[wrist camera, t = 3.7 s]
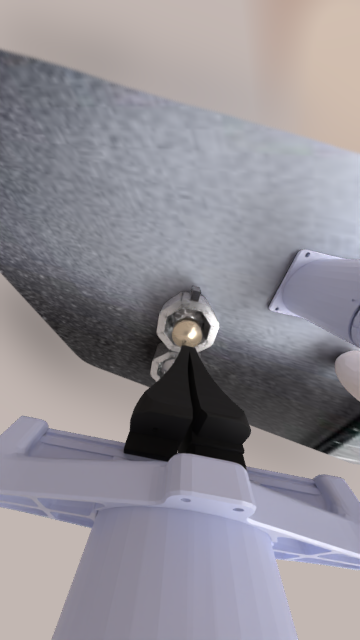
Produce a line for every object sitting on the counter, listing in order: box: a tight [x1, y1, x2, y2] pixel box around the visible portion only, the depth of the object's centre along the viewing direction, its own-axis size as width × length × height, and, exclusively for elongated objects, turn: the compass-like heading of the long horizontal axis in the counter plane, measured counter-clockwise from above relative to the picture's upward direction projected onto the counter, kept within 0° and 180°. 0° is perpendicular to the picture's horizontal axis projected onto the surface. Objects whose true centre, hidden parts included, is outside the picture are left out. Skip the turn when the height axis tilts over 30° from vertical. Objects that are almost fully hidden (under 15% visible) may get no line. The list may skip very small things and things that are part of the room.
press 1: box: [157, 286, 220, 352], centre depth 19 cm, size 8×9×4 cm
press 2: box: [150, 342, 201, 381], centre depth 23 cm, size 8×9×4 cm
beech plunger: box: [172, 308, 203, 347], centre depth 18 cm, size 5×5×5 cm
